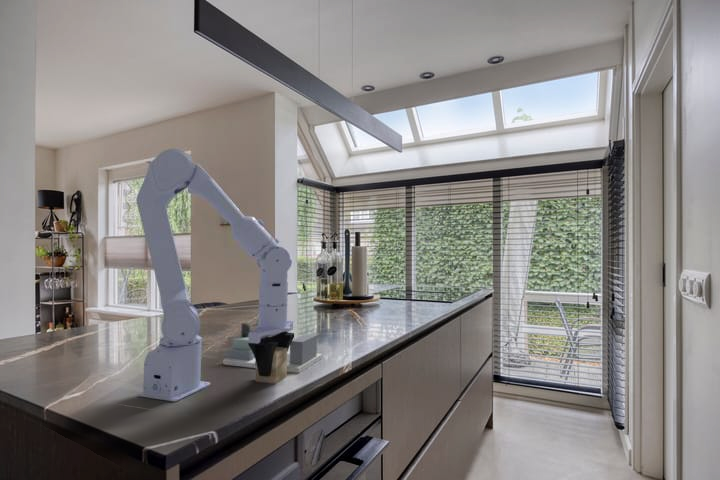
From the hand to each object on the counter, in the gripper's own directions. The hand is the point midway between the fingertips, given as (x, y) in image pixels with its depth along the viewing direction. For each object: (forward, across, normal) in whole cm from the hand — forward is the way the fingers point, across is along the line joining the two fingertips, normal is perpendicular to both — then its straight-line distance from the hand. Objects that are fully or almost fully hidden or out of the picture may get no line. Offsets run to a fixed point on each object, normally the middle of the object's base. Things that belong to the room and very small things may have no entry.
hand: (271, 371), depth 81 cm
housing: (+2, 0, 0) cm, 2 cm away
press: (+1, +12, +6) cm, 13 cm away
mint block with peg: (0, +12, +13) cm, 17 cm away
